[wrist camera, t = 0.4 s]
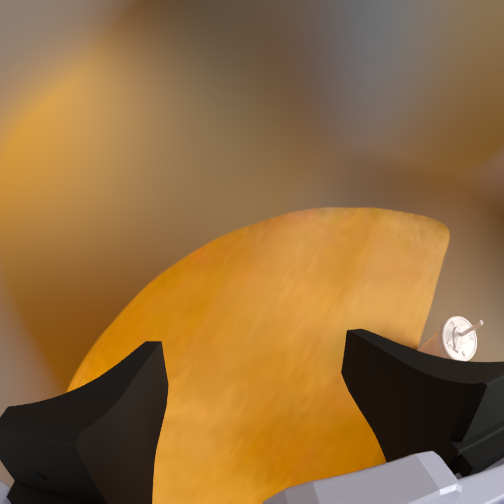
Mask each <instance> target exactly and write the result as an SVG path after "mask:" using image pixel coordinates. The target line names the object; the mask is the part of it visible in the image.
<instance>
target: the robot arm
mask: <svg viewBox="0 0 504 504" xmlns="http://www.w3.org/2000/svg"><path fill="white" fill-rule="evenodd" d="M341 373H342V376H343V378H344V381H345V383H346V386H347V388H348V390H349V392H350V394H351V396H352V397H353V399H354V401H355V402H356V404H357V406H358V407H359V409H360V410H361V412H362V414H363V415H364V417H365V418H366V420H367V422H368V423H369V425H370V427H371V428H372V430H373V432H374V434H375V436H376V438H377V440H378V442H379V444H380V447H381V449H382V451H383V454H384V456H385V459H386V461H387V463H384V464H381V465H378V466H374V467H371V468H367V469H363V470H360V471H356V472H352V473H348V474H343V475H339V476H334V477H330V478H325V479H320V480H315V481H310V482H306V483H303V484H300V485H296V486H293V487H289V488H286V489H284V490H282V491H280V492H279V493H277V494H275V495H274V496H272V497H270V498H268V499H267V500H266V501H264V502H263V504H504V362H470V361H461V360H454V359H448V358H443V357H439V356H434V355H430V354H427V353H423V352H420V351H417V350H415V349H412V348H409V347H406V346H404V345H401V344H399V343H396V342H394V341H391V340H389V339H387V338H384V337H382V336H380V335H377V334H375V333H372V332H370V331H367V330H364V329H354V330H347V334H346V342H345V350H344V358H343V365H342V371H341ZM167 396H168V380H167V374H166V368H165V361H164V355H163V348H162V341H146V342H144V343H143V344H142V345H140V346H139V347H138V348H137V349H136V350H134V351H133V352H132V353H131V354H130V355H128V356H127V357H126V358H125V359H123V360H122V361H121V362H120V363H118V364H117V365H115V366H114V367H113V368H111V369H110V370H108V371H107V372H106V373H104V374H103V375H101V376H100V377H98V378H96V379H95V380H93V381H91V382H89V383H87V384H85V385H83V386H81V387H79V388H77V389H75V390H72V391H70V392H67V393H65V394H63V395H60V396H57V397H54V398H51V399H47V400H44V401H40V402H36V403H30V404H24V405H18V406H10V407H8V408H7V409H6V410H5V412H4V413H3V414H2V416H1V417H0V460H1V462H2V463H3V465H4V466H5V468H6V469H7V471H8V472H9V473H10V475H11V476H12V477H13V479H14V480H15V481H14V483H13V485H12V487H10V486H9V485H7V484H6V483H5V482H3V481H1V480H0V504H152V493H153V474H154V462H155V454H156V448H157V444H158V440H159V436H160V431H161V427H162V423H163V419H164V414H165V410H166V406H167Z"/></svg>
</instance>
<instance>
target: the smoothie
mask: <svg viewBox="0 0 504 504" xmlns="http://www.w3.org/2000/svg"><path fill="white" fill-rule="evenodd" d="M482 324H483V321H482V320H481V321H479V322H478V323H476V324H475V325H473V326H472V325H471V324H470V323H469V322H468V321H467V320H466V319H465V318H463V317H459V316H455V317H451V318H450V319H448V320H446V321H445V322H444V323H443V324H442V326H441V327H440V329H439V330H438V331H437V332H436V334H434V335H433V336H432V337H431V338H430V339H429V340H428V341H427V342H426V343H425V344H424V345H422V346H421V347H420V348H419V349H418V350H417V351H420V352H423V353H427V354H430V355H434V356H439V357H443V358H448V359H454V360H461V361H468V360H469V359H471V358H472V356H473V355H474V353H475V351H476V347H477V338H476V333H475V329H476V328H478V327H479V326H481V325H482Z"/></svg>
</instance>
